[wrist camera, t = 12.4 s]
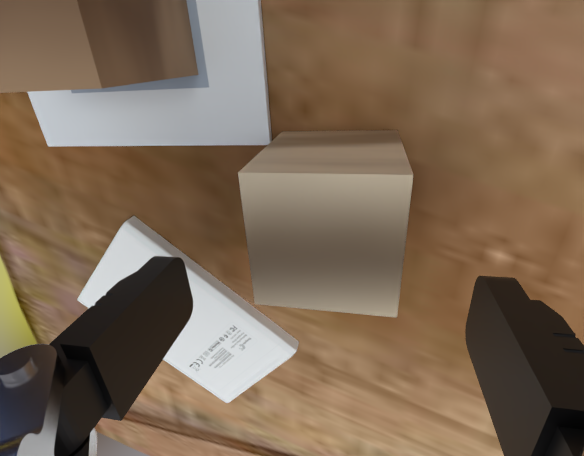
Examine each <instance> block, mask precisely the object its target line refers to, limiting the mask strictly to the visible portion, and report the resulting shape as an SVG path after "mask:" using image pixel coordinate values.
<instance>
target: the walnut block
mask: <svg viewBox="0 0 584 456" xmlns="http://www.w3.org/2000/svg"><path fill="white" fill-rule="evenodd" d="M193 75H198V69H197V63H196V56H195V50H194V44H193V38H192V32H191V25H190V19H189V13H188V7H187V1H186V0H0V93H8V92H31V91H55V90H78V89H101V88H109V87H116V86H123V85H130V84H137V83H144V82H151V81H158V80H165V79H172V78H179V77H186V76H193Z"/></svg>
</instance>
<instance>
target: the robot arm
mask: <svg viewBox="0 0 584 456" xmlns="http://www.w3.org/2000/svg"><path fill="white" fill-rule="evenodd" d="M192 311H193V298H192V293H191V289H190V285H189V280H188V276H187V272H186V267H185V264H184V261H183V260H182V259H181V258H180V257H166V256H154V257H152V258H151V259H150V260H149V261H148V262H146V263H145V264H144V265H143V266H142V267H141V268H140V269H139V270H138V271H136V272H134V273H133V274H131V275H129V276H127V277H125V278H124V279H122V280H120V281H119V282H118V283H116V284H115V285H114V286H113V287H112V288H111V289H110V290H109V291H108V292H106V295H105V296H104V295H103V296H102V297H101V298H100V299H99V300H98V301H96V302H95V305H94V306H91V307H90V308H89V309H88V310H87V311H85V312H84V313H83V314H82V315H81V316H80V317H79V318H78V319H77V320H75V321H74V322H73V323H72V324H71V325H70V326H69V327H68V328H67V329H66V330H64V331H63V332H62V333H61V334H60V335H59V336H58V337H57V338H56V339H54V340H53V341H52V342H51V343H50V344H49V345H48V344H35V345H30V346H26V347H23V348H20V349H17V350H15V351H13V352H11V353H9V354H7V355H5V356H3V357H2V358H0V456H97V432H96V430H95V428H94V427H95V426H96V424H97V423H98V422H99V420H100V419H101V418H108V419H114V420H120V421H121V420H122V419H123V417H124V416H125V414H126V413H127V412H128V410H129V409H130V407H131V406H132V404H133V403H134V401H135V400H136V398H137V397H138V395H139V394H140V392H141V391H142V389H143V388H144V386H145V385H146V383H147V382H148V380H149V379H150V377H151V376H152V375H153V373H154V372H155V370H156V369H157V367H158V366H159V364H160V363H161V361H162V360H163V358H164V357H165V355H166V354H167V352H168V351H169V349H170V348H171V346H172V345H173V343H174V342H175V340H176V339H177V338H178V336H179V335H180V333H181V332H182V330H183V329H184V327H185V326H186V324H187V323H188V321H189V320H190V317H191V315H192ZM466 344H467V348H468V352H469V355H470V357H471V360H472V363H473V366H474V369H475V372H476V375H477V378H478V381H479V384H480V387H481V390H482V392H483V395H484V398H485V401H486V404H487V407H488V410H489V413H490V416H491V419H492V422H493V425H494V427H495V430H496V433H497V436H498V439H499V442H500V445H501V448H502V451H503V454H504V456H584V345H583V344H582V343H581V341H580V340H579V339H578V338H576V337H575V333H574V332H573V331H572V329H571V328H570V327H569V325H568V324H567V323H566V321H565V320H564V319H563V317H562V316H561V315H559V314H558V313H557V312H555V311H554V310H552V309H551V308H550V307H548V306H547V305H546V304H544V303H543V302H542V301H539V300H530V299H529V297H528V296H527V294H526V293H525V291H524V290H523V288H522V287H521V285H520V284H519V282H518V281H517V280H516V279H515V278H508V277H491V276H479V277H478V278H477V280H476V282H475V286H474V291H473V295H472V300H471V304H470V309H469V313H468V318H467V322H466Z"/></svg>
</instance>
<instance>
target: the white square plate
mask: <svg viewBox="0 0 584 456" xmlns="http://www.w3.org/2000/svg"><path fill="white" fill-rule="evenodd" d="M186 1H187V7H188V13H189V19H190V25H191V32H192V38H193V44H194V50H195V56H196V63H197V69H198V75H193V76H186V77H179V78H172V79H165V80H158V81H151V82H144V83H137V84H130V85H123V86H116V87H109V88H101V89H78V90H55V91H31V92H28V95H29V98H30V100H31V103H32V106H33V108H34V111H35V113H36V116H37V119H38V121H39V124H40V126H41V129H42V132H43V134H44V137H45V140H46V142H47V145H48V146H192V145H268V144H269V143H270V142H271V141H272V134H271V122H270V109H269V97H268V84H267V72H266V59H265V47H264V35H263V22H262V10H261V0H186Z"/></svg>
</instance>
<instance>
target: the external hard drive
mask: <svg viewBox="0 0 584 456" xmlns="http://www.w3.org/2000/svg"><path fill="white" fill-rule="evenodd" d="M154 256H166V257H180V258H181V259H182V260H183V261H184V264H185V267H186V272H187V276H188V280H189V285H190V289H191V293H192V298H193V311H192V315H191V317H190V320H189V321H188V323H187V324H186V326H185V327H184V329H183V330H182V332H181V333H180V335H179V336H178V338H177V339H176V340H175V342H174V343H173V345H172V346H171V348H170V349H169V351H168V352H167V354H166V355H165V357H164V358H163V360H165V361H166V362H167V363H169V364H170V365H172V366H173V367H175V368H176V369H178V370H179V371H181V372H182V373H184V374H185V375H186V376H188V377H189V378H191V379H192V380H194V381H195V382H197V383H198V384H200V385H201V386H203V387H204V388H205V389H207V390H208V391H210V392H211V393H213V394H214V395H215V396H217V397H218V398H220V399H221V400H223V401H224V402H226V403H229V402H231V401H232V400H233V399H235V398H236V397H237V396H239V395H240V394H241V393H242V392H244V391H245V390H247V389H248V388H249V387H251V386H252V385H253V384H255V383H256V382H258V381H259V380H260V379H262V378H263V377H264V376H266V375H267V374H269V373H270V372H271V371H273V370H274V369H275V368H277V367H278V366H280V365H281V364H282V363H284V362H285V361H286V360H288V359H289V358H291V357H292V356H293V355H294V354H295V352H296V351H297V348H298V344H299V341H298V340H296V339H295V338H294V337H292V336H291V335H290V334H289V333H287V332H286V331H284V330H283V329H282V328H281V327H280V326H278V325H277V324H276V323H274V322H273V321H272V320H270V319H269V318H268V317H266V316H265V315H264V314H262V313H261V312H260V311H259V310H257V309H256V308H255V307H253V306H252V305H251V304H249V303H248V302H247V301H246V300H244V299H243V298H242V297H240V296H239V295H238V294H236V293H235V292H234V291H232V290H231V289H230V288H229V287H227V286H226V285H225V284H223V283H222V282H221V281H219V280H218V279H217V278H215V277H214V276H213V275H211V274H210V273H209V272H207V271H206V270H205V269H204V268H202V267H201V266H200V265H198V264H197V263H196V262H194V261H193V260H192V259H190V258H189V257H188V256H187V255H185V254H184V253H183V252H181V251H180V250H179V249H177V248H176V247H175V246H173V245H172V244H171V243H169V242H168V241H167V240H166V239H164V238H163V237H162V236H160V235H159V234H158V233H156V232H155V231H154V230H152V229H151V228H150V227H148V226H147V225H146V224H144V223H143V222H142V221H140V220H139V219H138V218H137V217H135V216H132V217H131V218H130V219H128V220H126V221H125V222H124V224H123V225H122V226H121V228H120V229H119V231H118V232H117V234H116V236H115V237H114V239H113V241H112V242H111V244H110V246H109V247H108V249H107V251H106V252H105V254H104V256H103V257H102V259H101V260H100V262H99V264H98V265H97V267H96V269H95V271H94V272H93V274H92V275H91V277H90V279H89V280H88V282H87V283H86V285H85V287H84V289H83V290H82V292H81V294H80V295H79V297H78V299H77V300H78V301H79V302H80V303H82V304H83V305H85V306H86V307H88V308H90V307H91V306H94V305H95V302H96V301H98V300H99V299H100V298H101V297H102V296H103V295H104V296H105V295H106V292H108V291H109V290H110V289H111V288H112V287H113V286H114V285H115V284H116V283H118V282H119V281H120V280H122V279H124V278H125V277H127V276H129V275H131V274H133V273H134V272H136V271H138V270H139V269H140V268H141V267H142V266H143V265H144V264H145V263H146V262H148V261H149V260H150V259H151V258H152V257H154Z"/></svg>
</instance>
